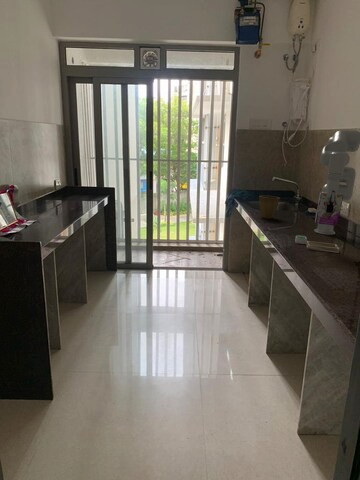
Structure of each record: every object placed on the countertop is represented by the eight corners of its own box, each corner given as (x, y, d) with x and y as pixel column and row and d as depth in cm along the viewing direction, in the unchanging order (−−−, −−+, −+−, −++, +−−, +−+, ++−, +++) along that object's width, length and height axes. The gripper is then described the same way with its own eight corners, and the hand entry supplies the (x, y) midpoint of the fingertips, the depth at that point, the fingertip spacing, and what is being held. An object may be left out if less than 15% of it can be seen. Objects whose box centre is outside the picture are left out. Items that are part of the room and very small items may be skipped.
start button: (297, 239, 206) (297, 235, 205) (303, 240, 205) (304, 236, 204) (297, 241, 202) (298, 236, 202) (304, 242, 202) (305, 237, 201)
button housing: (295, 240, 207) (295, 235, 206) (305, 241, 206) (305, 236, 205) (295, 243, 202) (296, 237, 201) (306, 244, 201) (306, 239, 200)
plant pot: (277, 220, 261) (280, 198, 257) (257, 218, 263) (259, 197, 259) (275, 216, 275) (278, 196, 271) (256, 214, 277) (258, 194, 273)
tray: (305, 244, 200) (306, 240, 200) (335, 248, 197) (336, 244, 196) (307, 249, 191) (308, 245, 191) (338, 252, 188) (339, 248, 187)
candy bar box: (315, 223, 189) (320, 192, 185) (314, 221, 194) (319, 191, 190) (338, 226, 187) (343, 194, 182) (336, 224, 191) (342, 193, 187)
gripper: (324, 175, 193) (318, 208, 197) (329, 177, 176) (323, 213, 181) (339, 176, 191) (333, 209, 196) (345, 178, 175) (338, 215, 180)
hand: (328, 211), depth 188 cm, fingers closed on candy bar box, 5 cm apart
